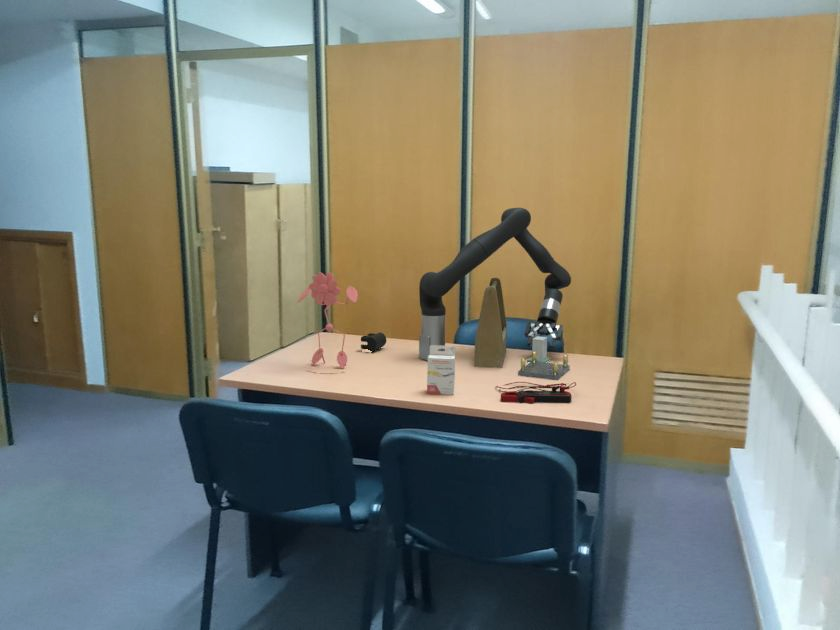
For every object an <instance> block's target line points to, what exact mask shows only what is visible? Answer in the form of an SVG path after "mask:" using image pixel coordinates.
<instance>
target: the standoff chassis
mask: <svg viewBox="0 0 840 630" xmlns="http://www.w3.org/2000/svg"><path fill="white" fill-rule="evenodd" d="M531 357H532V362H530V363H528V364H526V363H527V359H526V358H521V359H520V369H519V370H518V371H517V375H518V376H520V377H527V378H537V379H545V380H546V379H547V380H552V381H553V380H554V381H558V380H560V377H561V376H562V377H563V376H564V375H565V374H566V373H567V372H568V371H569V370H571V368H570V367H571V365H570V364H569V363H568V362H569V354H563V361H562V364H559V362H557V361H555V362H553V363H550V362H547V363H544V362H536V358H537V352H535V351H533V352H532V351H531ZM562 377H561V378H562Z"/></svg>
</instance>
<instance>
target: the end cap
mask: <svg viewBox="0 0 840 630" xmlns="http://www.w3.org/2000/svg"><path fill="white" fill-rule="evenodd" d="M360 342H361V343H362V342H364V343H366V344H360V349H361V350H363V349H368V350H370V351H374V352H376V351H377V349H378V350H380V349H381V347H382V348H383V347H384V346H386V344H387V336H386V335H385V334H384V333H383V332H382V331H381V332H380V331H379V332H376V333H372V332H371V333H368V334H367V335H362V336H361V337H360ZM379 348H380V349H379ZM375 350H376V351H375Z"/></svg>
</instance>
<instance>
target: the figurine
mask: <svg viewBox="0 0 840 630" xmlns="http://www.w3.org/2000/svg"><path fill="white" fill-rule="evenodd" d="M312 280H313V282H311V283H310V284H309V285H308V288H306V289H305V290H303V292H302V293H301V294H300V295H299V297H298V299H297V301H296V302H297V304H298V303H300V302H302V300H304V299H305V298H306V297H307V296H308V294H309V293H310V292H311V294H310V297H311V298H313V299H315V302H316V305H318V306H325V305H326V306H327V307H325V309H324V310H323V312H324V315H325V318H326V319H325V320H326V321H327V324H325V327H324V328H323V329H321V330H319V331H318V332H317V333H318V334H317V335H318V345H319V346H318V349H317V350H315V352H314V353H313V355H312V357H311V360H309V362H311V366H314V365H315V364H317V363H318V362H319V361H320V360H322V361H323V364H326V360H325V358H324V349H323V348H322V347H321V341H320V339H321V338H320V333H321V332H323V331H325V330H326V331H329V332H331V331H334V332H337V333H339V334H340V335H343V340H342V347H341V350H340V351H338V353H337V356H336V362H337V364H338V365H339V367H340V368H341V369H344V368H345V367H347V362H348V355H347V353H346V352H345V351H344V345H345V339H346V334H345V333H343V332H341V331H339V330H337V329H335V328H334V326H333V324H332V323H330V322H329V318H328V314H327V310H328V309H329V308H330V307H331V306H332V305H333V304H338V305H342V306H348V303H349V301H351V302H352V303H355V304H356V303H357V301H358V298H359V296H358V295H359V293H358V291H357V289H356V288H355V287H354V286H351V285H348V286H347V288H346V302H345V303H344V302H339V301H338V298H337V296H338V295H340V294H341V293H342V290H341V288H340V287H338V286H337V285H338V281H337V280H336V279H334V276H333V273H332V272H328V273H327V274H326V275H325V274H324V273H323V272H321V271H319V272H318V274H313V275H312ZM305 371H306V372H308V373H309V372H310V373H311V371H309V370H305ZM312 373H313V374H316V372H314V371H312ZM343 373H345V372H344V371H343V372H341V374H343ZM321 374H323V375H324V374H325V375H326V374H327V375H334V374H337V372H333V373H332V372H330V373H329V372H328V373H327V372H325V373H324V372H321Z"/></svg>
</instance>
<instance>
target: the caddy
mask: <svg viewBox="0 0 840 630" xmlns="http://www.w3.org/2000/svg"><path fill="white" fill-rule="evenodd" d="M505 310H506V309H505V304H504V296H503V288H502V282H501V279H500V278H499V277H492V278H491V279H490V281H489V286H486V287H485V289H484V292H483V296H482V303H481V307H480V313H479V317H478V322H477V323H478V324H477V328H476V332H475V333H476V334H475V339H474V367H475V366H478V367H479V368H493V367H500V368H499V369H502V368H503V366H504V360H505V358H506V351H507V335H508V326H507V324H508V323H507V318H506V317H507V316H506V311H505Z"/></svg>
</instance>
